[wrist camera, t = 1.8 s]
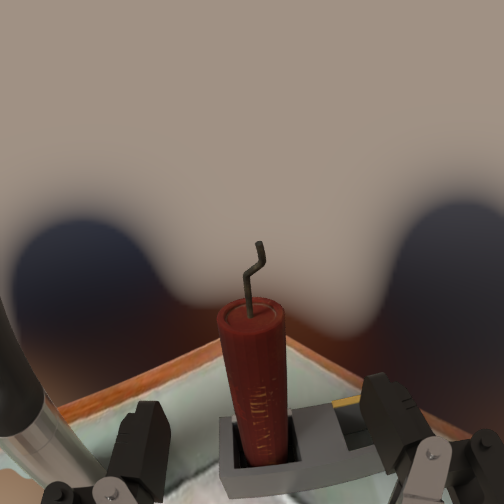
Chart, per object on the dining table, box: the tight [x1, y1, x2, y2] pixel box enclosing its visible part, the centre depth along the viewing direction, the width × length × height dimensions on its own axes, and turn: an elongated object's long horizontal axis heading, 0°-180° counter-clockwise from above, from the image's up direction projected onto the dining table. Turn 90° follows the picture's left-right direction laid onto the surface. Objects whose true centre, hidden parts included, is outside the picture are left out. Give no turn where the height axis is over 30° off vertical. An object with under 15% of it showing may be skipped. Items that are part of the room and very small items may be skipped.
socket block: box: [219, 395, 385, 499], centre depth 29 cm, size 22×9×7 cm, turn 94°
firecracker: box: [217, 241, 288, 468], centre depth 25 cm, size 5×5×30 cm
